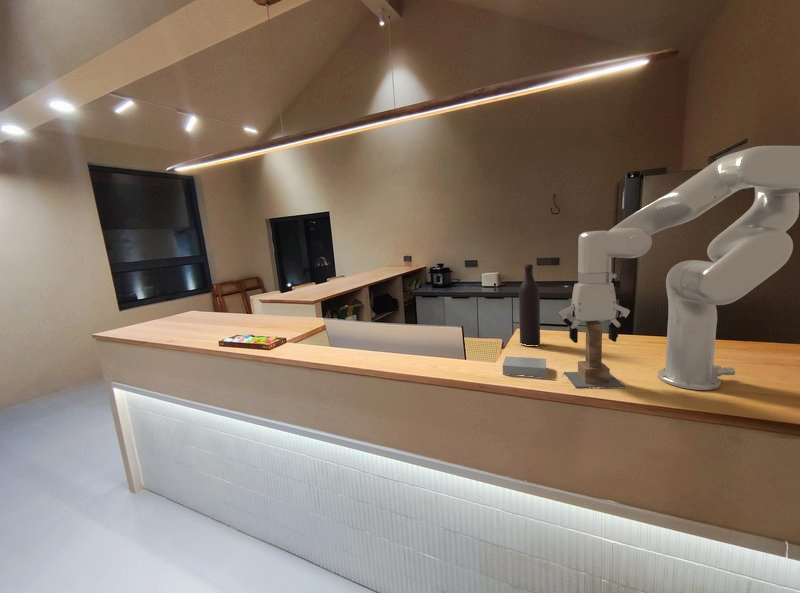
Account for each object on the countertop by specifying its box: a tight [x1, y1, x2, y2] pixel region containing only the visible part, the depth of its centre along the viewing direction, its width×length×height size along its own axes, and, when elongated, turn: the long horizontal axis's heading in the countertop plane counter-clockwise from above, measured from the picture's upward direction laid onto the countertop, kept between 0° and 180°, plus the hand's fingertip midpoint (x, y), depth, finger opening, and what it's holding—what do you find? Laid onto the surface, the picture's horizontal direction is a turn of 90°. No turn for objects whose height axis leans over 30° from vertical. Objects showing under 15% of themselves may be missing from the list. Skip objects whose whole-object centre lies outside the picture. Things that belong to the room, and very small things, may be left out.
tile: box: [502, 355, 547, 379], centre depth 105 cm, size 3×8×12 cm
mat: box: [563, 371, 626, 389], centre depth 95 cm, size 12×10×1 cm
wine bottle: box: [518, 263, 541, 346], centre depth 126 cm, size 7×7×30 cm
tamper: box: [577, 321, 611, 383], centre depth 94 cm, size 6×6×16 cm
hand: (593, 340), depth 93 cm, fingers open, 9 cm apart
